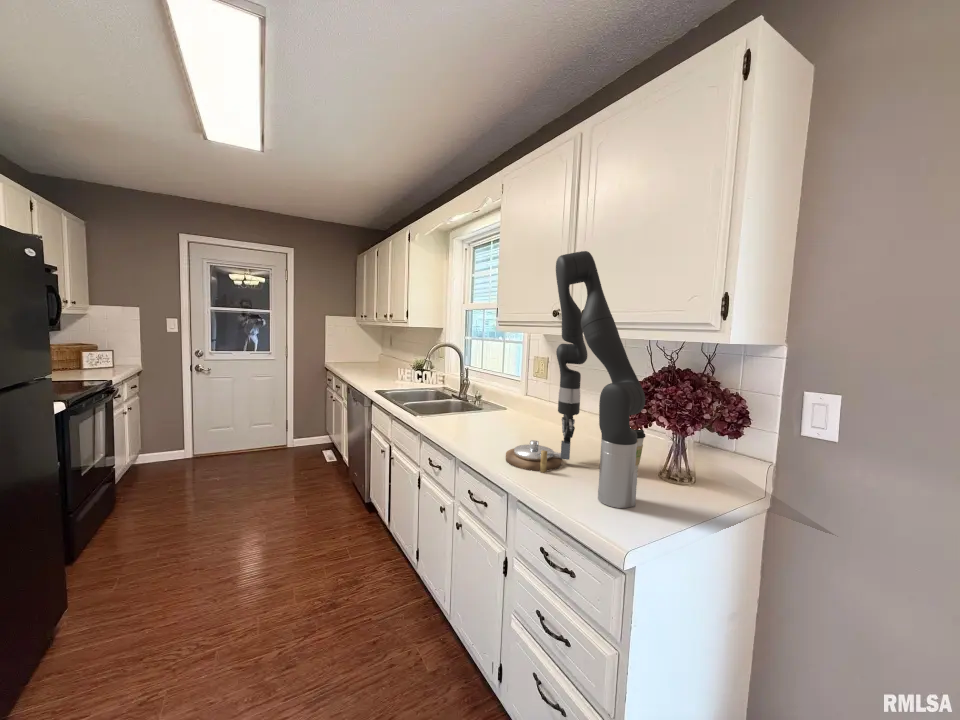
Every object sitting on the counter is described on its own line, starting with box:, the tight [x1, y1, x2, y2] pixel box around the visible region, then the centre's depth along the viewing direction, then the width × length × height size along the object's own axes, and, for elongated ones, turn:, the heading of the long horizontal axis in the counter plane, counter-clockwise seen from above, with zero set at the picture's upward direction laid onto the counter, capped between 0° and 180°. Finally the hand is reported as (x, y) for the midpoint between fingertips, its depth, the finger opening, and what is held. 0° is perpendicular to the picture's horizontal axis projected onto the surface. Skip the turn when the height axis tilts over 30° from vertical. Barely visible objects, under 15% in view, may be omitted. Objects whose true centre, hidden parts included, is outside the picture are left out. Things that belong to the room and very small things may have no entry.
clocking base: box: [505, 447, 563, 474], centre depth 139 cm, size 20×22×7 cm
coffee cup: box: [634, 429, 646, 472], centre depth 132 cm, size 10×10×15 cm
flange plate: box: [513, 439, 571, 461], centre depth 139 cm, size 20×14×6 cm
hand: (566, 447), depth 141 cm, fingers closed
